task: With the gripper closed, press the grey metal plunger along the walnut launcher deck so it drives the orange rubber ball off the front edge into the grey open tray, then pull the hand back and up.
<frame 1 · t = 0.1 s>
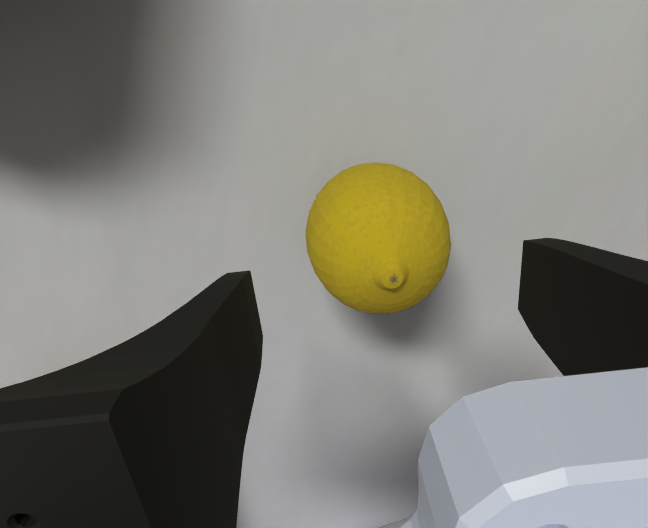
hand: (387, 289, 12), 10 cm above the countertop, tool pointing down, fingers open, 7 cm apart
lemon: (363, 204, 22), on the countertop
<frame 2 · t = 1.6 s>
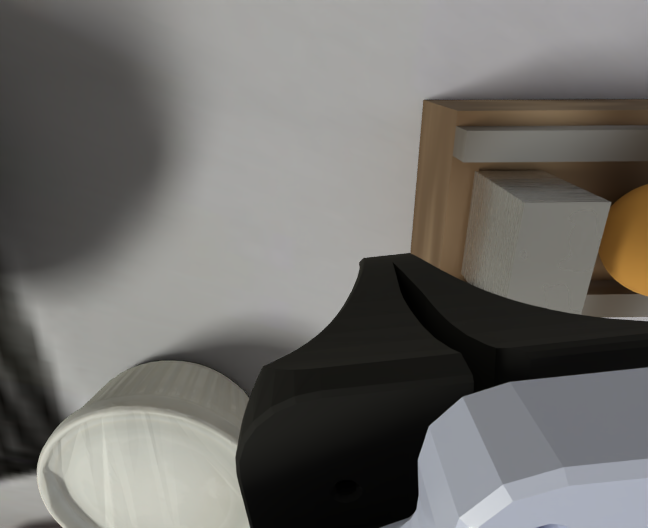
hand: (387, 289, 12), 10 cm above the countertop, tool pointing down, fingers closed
plunger: (523, 243, 15), point 7 cm above the countertop, slide at 0.0 cm
launcher deck: (560, 187, 22), on the countertop
ramekin: (181, 416, 27), on the countertop
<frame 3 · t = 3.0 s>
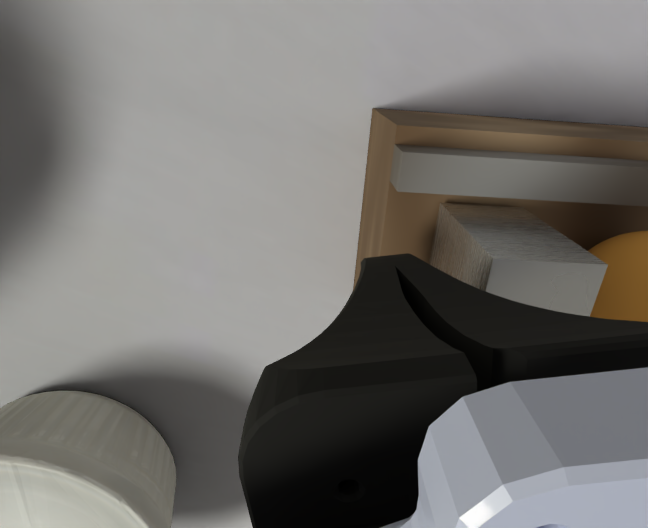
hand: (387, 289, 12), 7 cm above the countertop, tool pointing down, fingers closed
ball: (645, 304, 12), point 7 cm above the countertop, touching launcher deck
plunger: (492, 300, 12), point 7 cm above the countertop, slide at 0.7 cm, touching gripper
launcher deck: (529, 221, 19), on the countertop
ramekin: (86, 452, 23), on the countertop
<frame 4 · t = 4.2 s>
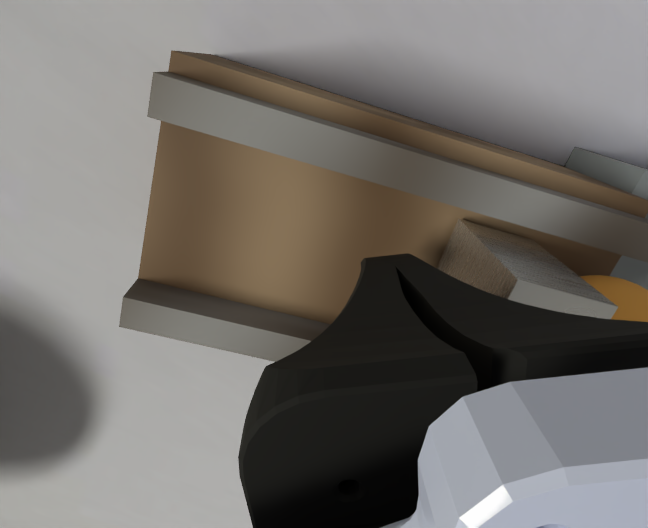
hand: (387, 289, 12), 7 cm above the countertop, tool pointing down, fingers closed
ball: (596, 345, 13), point 7 cm above the countertop, tilted 174°, touching launcher deck
grey open tray: (615, 283, 20), on the countertop
plunger: (492, 322, 12), point 7 cm above the countertop, slide at 7.8 cm, touching gripper
launcher deck: (364, 213, 18), on the countertop
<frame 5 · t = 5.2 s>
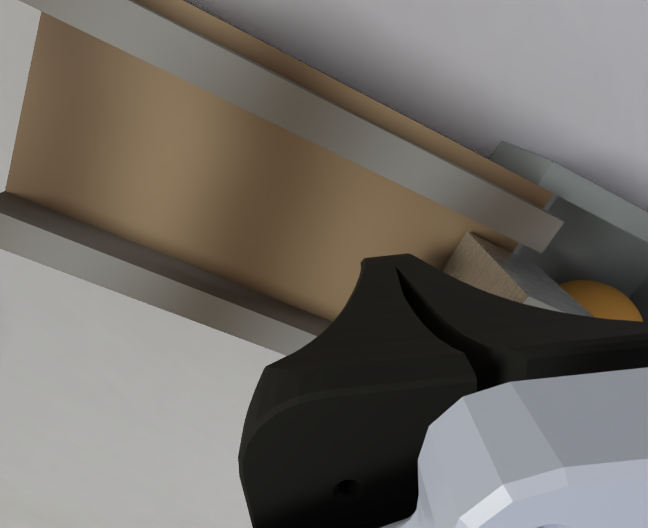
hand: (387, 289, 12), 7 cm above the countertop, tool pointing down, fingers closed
ball: (583, 330, 18), point 2 cm above the countertop, tilted 49°, touching grey open tray
grey open tray: (528, 288, 20), on the countertop
plunger: (487, 336, 12), point 7 cm above the countertop, slide at 11.5 cm, touching gripper
launcher deck: (283, 175, 17), on the countertop
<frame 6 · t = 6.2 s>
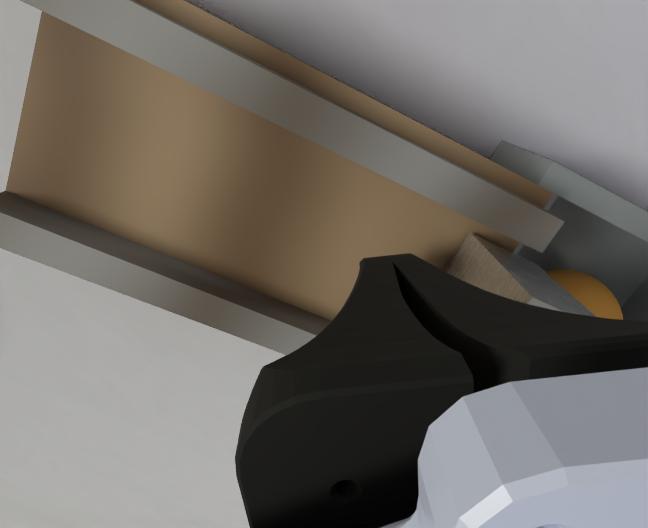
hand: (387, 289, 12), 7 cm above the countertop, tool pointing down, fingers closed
ball: (562, 320, 18), point 2 cm above the countertop, tilted 19°, touching grey open tray
grey open tray: (528, 288, 20), on the countertop
plunger: (490, 337, 12), point 7 cm above the countertop, slide at 11.5 cm
launcher deck: (283, 175, 17), on the countertop
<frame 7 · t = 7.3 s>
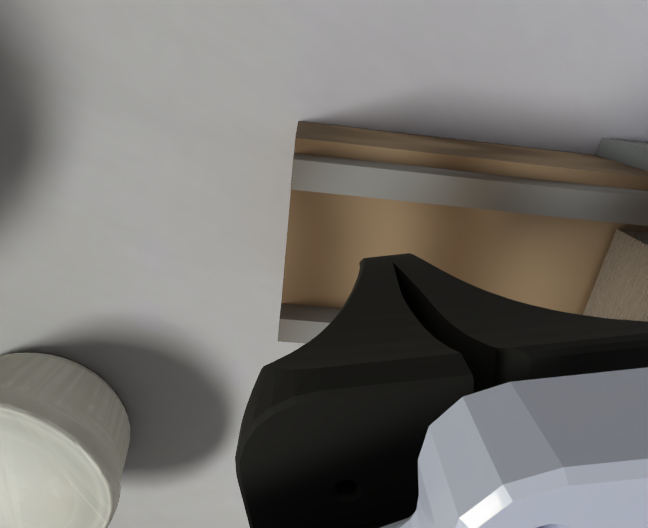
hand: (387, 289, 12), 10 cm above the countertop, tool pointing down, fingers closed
launcher deck: (432, 221, 22), on the countertop
ramekin: (51, 411, 26), on the countertop
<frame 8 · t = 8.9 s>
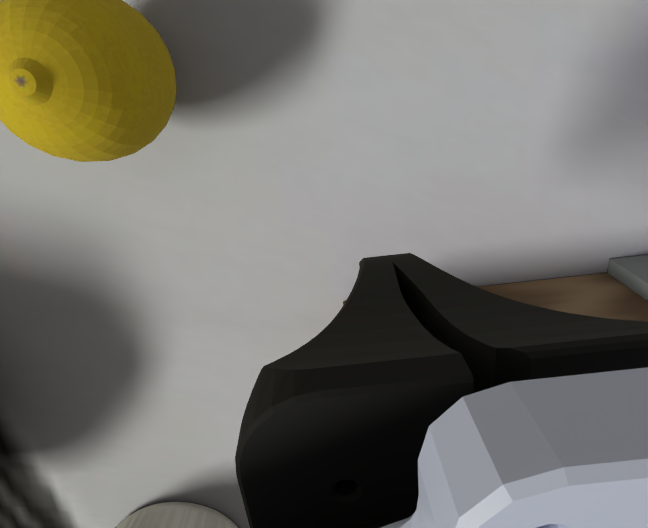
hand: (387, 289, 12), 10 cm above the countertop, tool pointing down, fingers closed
lemon: (132, 75, 19), on the countertop
launcher deck: (472, 349, 25), on the countertop
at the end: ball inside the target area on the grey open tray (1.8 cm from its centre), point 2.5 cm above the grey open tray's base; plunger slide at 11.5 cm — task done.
